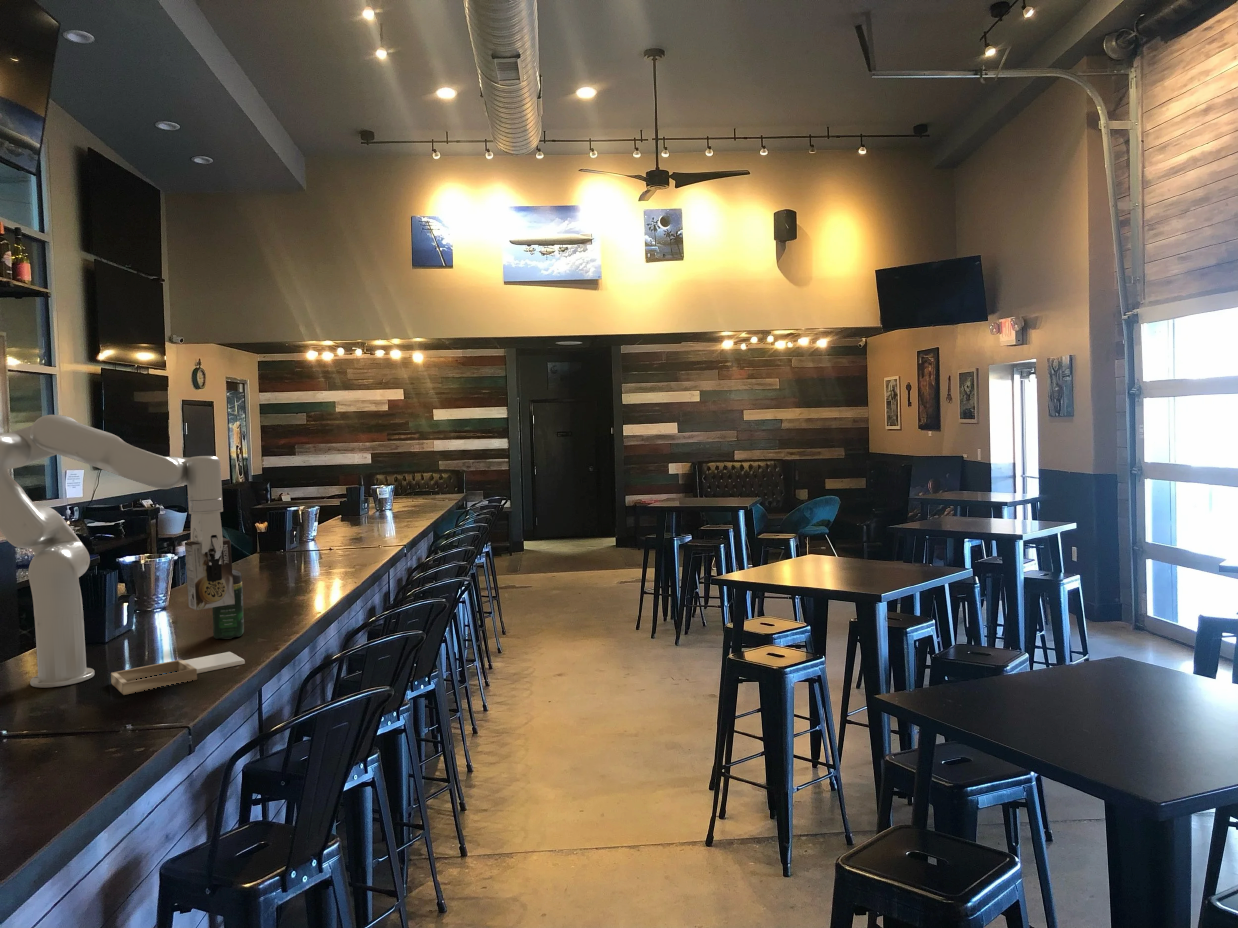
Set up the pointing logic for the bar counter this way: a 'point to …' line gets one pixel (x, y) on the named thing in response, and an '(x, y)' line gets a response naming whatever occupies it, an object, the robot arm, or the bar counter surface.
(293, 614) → the bar counter surface
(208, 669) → the tile
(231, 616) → the coffee jar
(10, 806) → the bar counter surface
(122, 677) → the holder frame
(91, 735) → the bar counter surface
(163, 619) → the bar counter surface
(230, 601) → the coffee box
